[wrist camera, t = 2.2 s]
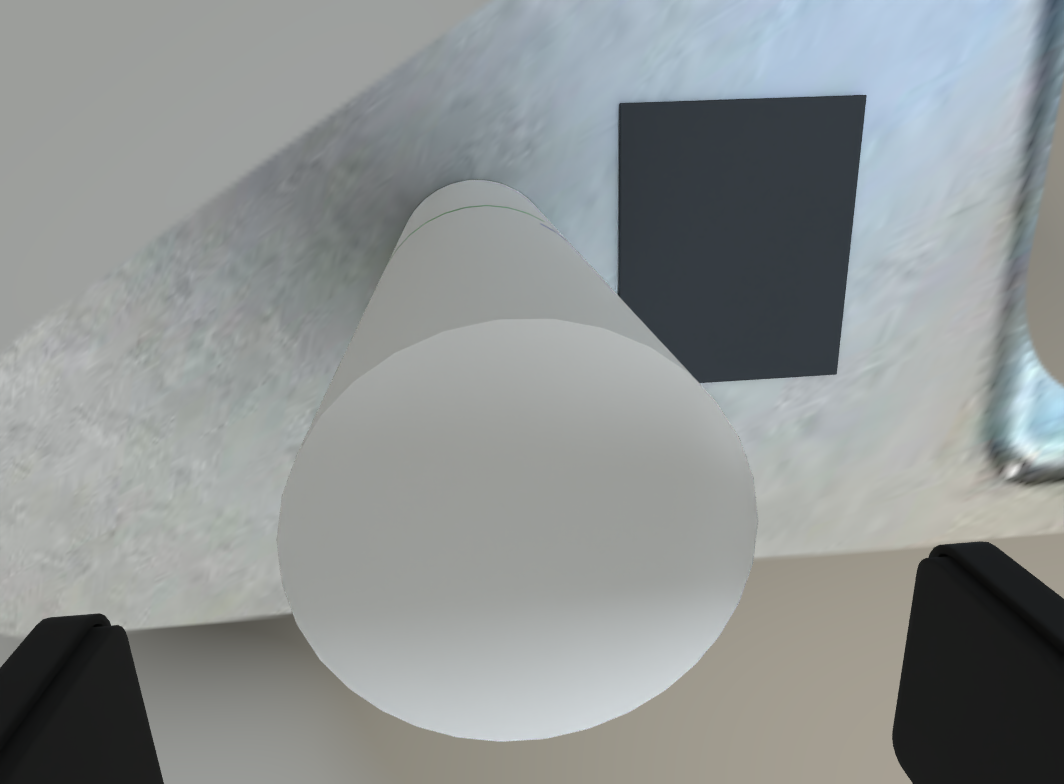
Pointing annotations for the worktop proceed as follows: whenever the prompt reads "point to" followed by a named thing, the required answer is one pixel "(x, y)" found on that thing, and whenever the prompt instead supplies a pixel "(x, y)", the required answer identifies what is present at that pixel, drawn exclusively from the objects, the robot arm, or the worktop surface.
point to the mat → (740, 230)
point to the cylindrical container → (511, 489)
